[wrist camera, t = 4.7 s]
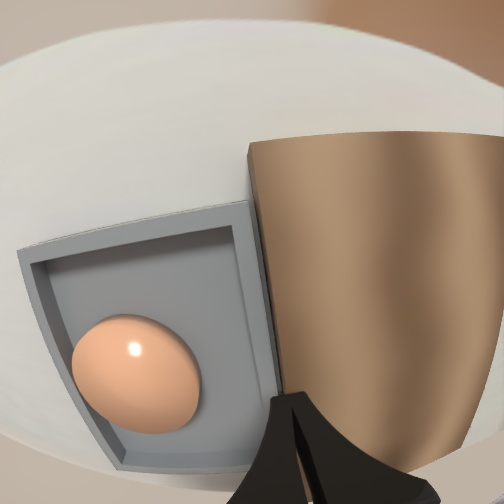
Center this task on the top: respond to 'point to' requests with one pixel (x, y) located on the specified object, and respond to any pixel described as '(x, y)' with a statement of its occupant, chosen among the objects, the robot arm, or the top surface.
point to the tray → (174, 317)
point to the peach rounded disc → (137, 374)
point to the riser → (384, 281)
